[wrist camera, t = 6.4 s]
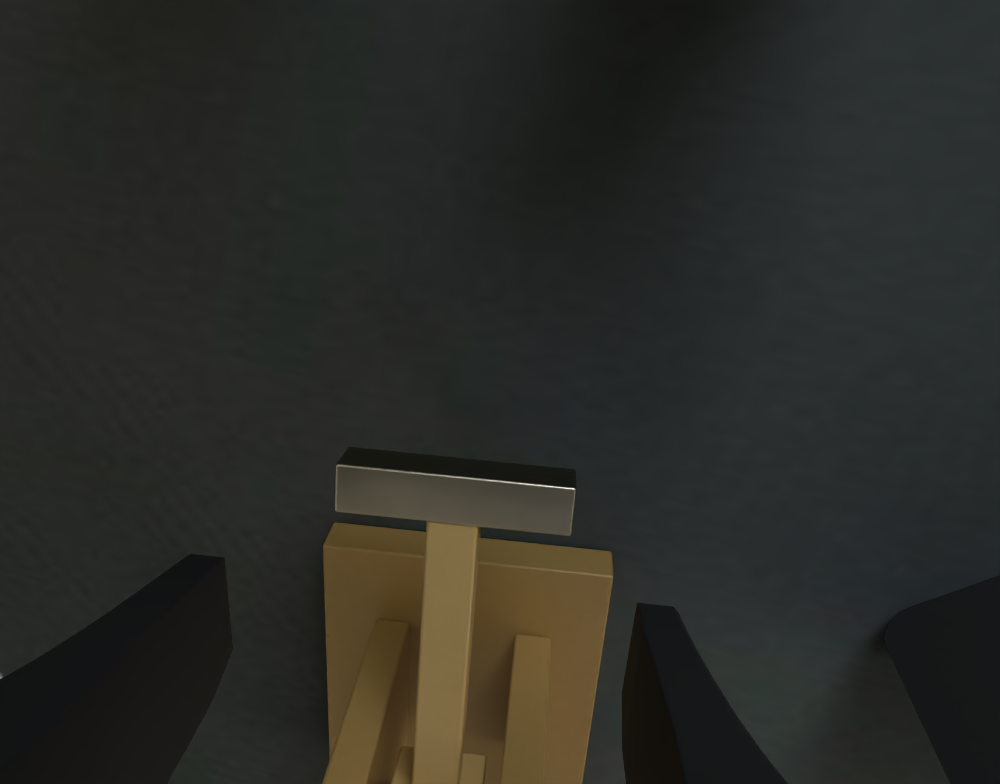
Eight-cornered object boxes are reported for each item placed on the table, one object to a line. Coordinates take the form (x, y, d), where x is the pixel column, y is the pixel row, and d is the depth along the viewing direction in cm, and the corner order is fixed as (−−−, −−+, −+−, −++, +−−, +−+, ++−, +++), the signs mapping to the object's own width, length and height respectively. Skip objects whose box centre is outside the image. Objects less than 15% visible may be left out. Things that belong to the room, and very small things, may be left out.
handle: (355, 436, 19) (326, 475, 17) (575, 457, 19) (577, 501, 16) (343, 826, 22) (318, 904, 20) (532, 849, 22) (528, 932, 20)
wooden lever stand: (333, 521, 24) (232, 736, 17) (612, 550, 24) (625, 783, 17) (339, 746, 28) (258, 997, 21) (579, 774, 28) (577, 1040, 21)
